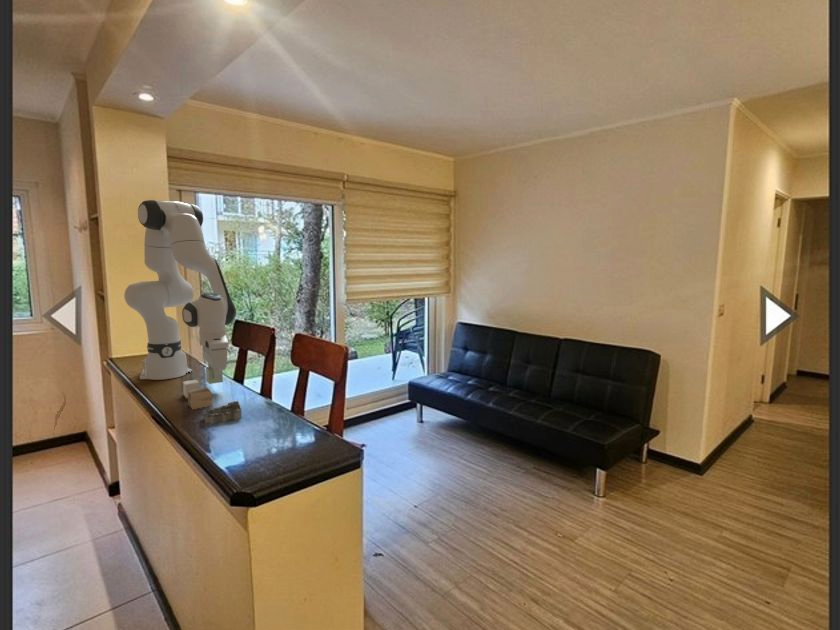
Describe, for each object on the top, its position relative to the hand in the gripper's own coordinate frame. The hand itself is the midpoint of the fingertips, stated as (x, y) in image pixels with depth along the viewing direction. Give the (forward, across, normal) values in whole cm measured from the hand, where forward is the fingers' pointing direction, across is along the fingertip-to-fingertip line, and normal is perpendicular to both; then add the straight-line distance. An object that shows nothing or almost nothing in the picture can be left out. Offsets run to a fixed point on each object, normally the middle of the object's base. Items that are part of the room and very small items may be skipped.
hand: (214, 376), depth 161 cm
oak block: (+6, +12, -7) cm, 15 cm away
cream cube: (+6, -1, -7) cm, 10 cm away
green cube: (+2, 0, 0) cm, 2 cm away
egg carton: (+5, +29, -4) cm, 30 cm away
